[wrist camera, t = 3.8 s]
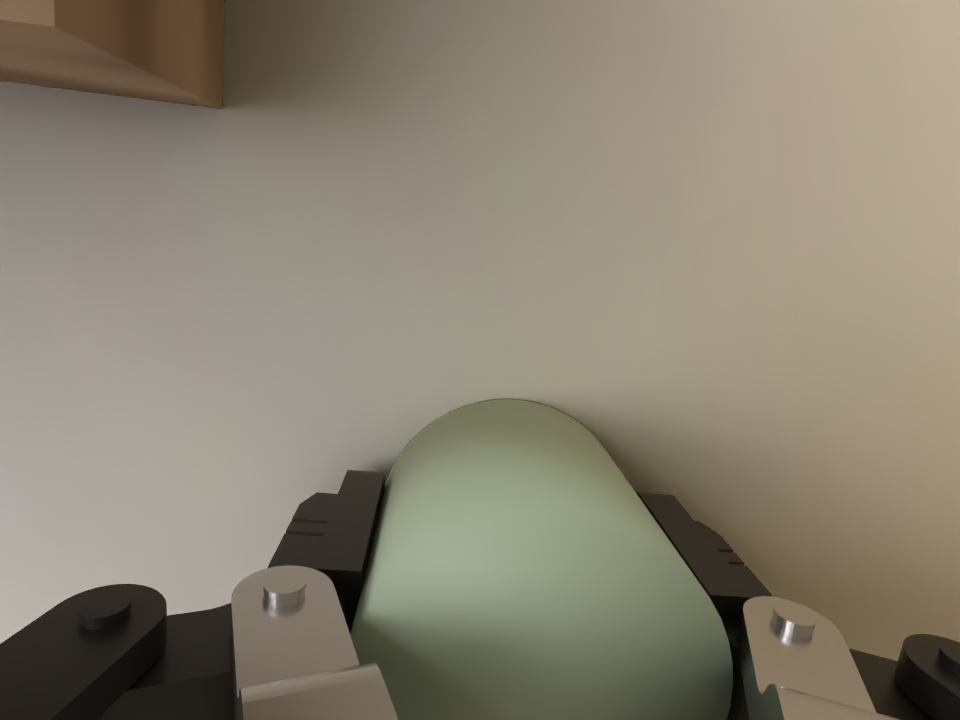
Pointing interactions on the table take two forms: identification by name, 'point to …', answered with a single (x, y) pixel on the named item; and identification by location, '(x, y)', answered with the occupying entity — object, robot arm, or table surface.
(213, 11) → the base block
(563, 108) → the table surface
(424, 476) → the rounded mint cylinder
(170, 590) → the table surface
